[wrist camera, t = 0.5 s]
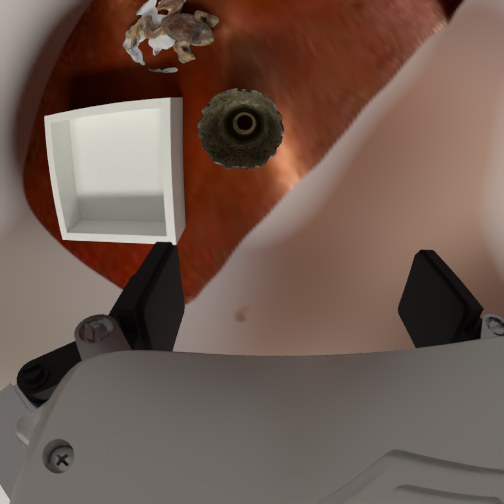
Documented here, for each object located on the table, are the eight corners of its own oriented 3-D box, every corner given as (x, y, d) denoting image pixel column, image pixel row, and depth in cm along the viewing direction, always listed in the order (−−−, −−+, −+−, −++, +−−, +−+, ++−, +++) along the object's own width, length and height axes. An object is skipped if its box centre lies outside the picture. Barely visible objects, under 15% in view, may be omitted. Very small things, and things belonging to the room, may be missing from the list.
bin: (67, 111, 29) (44, 116, 25) (182, 97, 29) (170, 97, 25) (80, 223, 37) (62, 239, 33) (185, 226, 37) (176, 244, 33)
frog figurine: (247, 5, 24) (246, -6, 21) (195, 89, 29) (188, 88, 26) (162, -23, 21) (151, -34, 18) (115, 58, 27) (100, 55, 23)
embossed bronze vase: (208, 151, 32) (194, 166, 25) (214, 88, 29) (200, 85, 22) (273, 158, 33) (277, 175, 26) (282, 95, 29) (289, 94, 22)
